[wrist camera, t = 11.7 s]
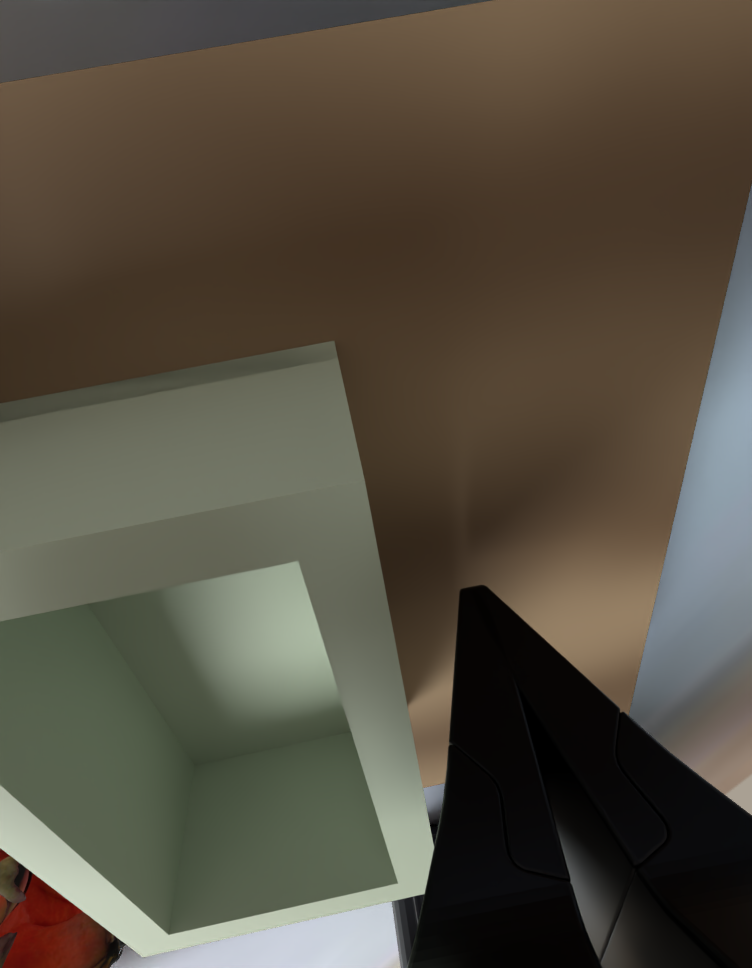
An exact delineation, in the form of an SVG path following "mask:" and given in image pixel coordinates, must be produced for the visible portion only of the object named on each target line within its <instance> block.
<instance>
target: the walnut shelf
mask: <svg viewBox="0 0 752 968" xmlns="http://www.w3.org/2000/svg"><path fill="white" fill-rule="evenodd" d="M751 184H752V0H492V1H486V2H480V3H475V4H469V5H463V6H457V7H451V8H445V9H439V10H433V11H427V12H421V13H415V14H409V15H403V16H397V17H391V18H385V19H379V20H373V21H367V22H361V23H355V24H349V25H343V26H337V27H331V28H325V29H320V30H314V31H308V32H302V33H296V34H290V35H284V36H278V37H272V38H266V39H260V40H254V41H248V42H242V43H236V44H230V45H224V46H218V47H212V48H206V49H200V50H194V51H188V52H182V53H176V54H171V55H165V56H159V57H153V58H147V59H141V60H135V61H129V62H123V63H117V64H111V65H105V66H99V67H93V68H87V69H81V70H75V71H69V72H63V73H57V74H51V75H45V76H39V77H33V78H27V79H21V80H16V81H10V82H4V83H0V403H6V402H11V401H16V400H22V399H27V398H32V397H37V396H43V395H48V394H53V393H59V392H64V391H69V390H75V389H80V388H85V387H91V386H96V385H101V384H106V383H112V382H117V381H122V380H128V379H133V378H138V377H144V376H149V375H154V374H160V373H165V372H170V371H175V370H181V369H186V368H191V367H197V366H202V365H207V364H213V363H218V362H223V361H229V360H234V359H239V358H244V357H250V356H255V355H260V354H266V353H271V352H276V351H282V350H287V349H292V348H298V347H303V346H308V345H313V344H319V343H324V342H329V341H334V342H335V347H336V352H337V356H338V361H339V365H340V370H341V374H342V379H343V384H344V388H345V393H346V397H347V402H348V406H349V411H350V415H351V420H352V425H353V429H354V434H355V438H356V443H357V447H358V452H359V457H360V461H361V466H362V470H363V475H364V479H365V485H366V490H367V495H368V501H369V506H370V511H371V516H372V522H373V527H374V532H375V538H376V543H377V548H378V553H379V559H380V564H381V569H382V575H383V580H384V585H385V590H386V596H387V601H388V606H389V612H390V617H391V622H392V627H393V633H394V638H395V643H396V649H397V654H398V659H399V665H400V670H401V675H402V680H403V686H404V691H405V696H406V702H407V707H408V712H409V717H410V723H411V728H412V733H413V739H414V744H415V749H416V754H417V760H418V765H419V770H420V776H421V781H422V786H423V788H425V787H430V786H434V785H439V784H443V783H445V778H446V769H447V756H448V746H449V731H450V717H451V703H452V689H453V675H454V661H455V647H456V633H457V619H458V605H459V592H460V590H461V589H462V588H466V587H472V586H477V585H485V586H487V587H488V588H489V589H490V590H491V591H492V592H494V593H495V594H496V595H497V596H498V597H499V598H500V599H501V600H502V601H503V602H504V603H506V604H507V605H508V606H509V607H510V608H511V609H512V610H513V611H514V612H515V613H517V614H518V615H519V616H520V617H521V618H522V619H523V620H524V621H525V622H526V623H527V624H529V625H530V626H531V627H532V628H533V629H534V630H535V631H536V632H537V633H538V634H540V635H541V636H542V637H543V638H544V639H545V640H546V641H547V642H548V643H549V644H550V645H552V646H553V647H554V648H555V649H556V650H557V651H558V652H559V653H560V654H561V655H563V656H564V657H565V658H566V659H567V660H568V661H569V662H570V663H571V664H572V665H573V666H575V667H576V668H577V669H578V670H579V671H580V672H581V673H582V674H583V675H584V676H586V677H587V678H588V679H589V680H590V681H591V682H592V683H593V684H594V685H595V686H596V687H598V688H599V689H600V690H601V691H602V692H603V693H604V694H605V695H606V696H607V697H609V698H610V699H611V700H612V701H613V702H614V703H615V704H616V705H617V706H618V707H619V708H620V713H621V712H625V713H626V714H627V715H629V711H630V707H631V702H632V698H633V694H634V689H635V685H636V681H637V676H638V672H639V668H640V663H641V659H642V655H643V651H644V646H645V642H646V638H647V633H648V629H649V625H650V620H651V616H652V612H653V607H654V603H655V599H656V594H657V590H658V586H659V581H660V577H661V573H662V568H663V564H664V560H665V555H666V551H667V547H668V542H669V538H670V534H671V530H672V525H673V521H674V517H675V512H676V508H677V504H678V499H679V495H680V491H681V486H682V482H683V478H684V473H685V469H686V465H687V460H688V456H689V452H690V447H691V443H692V439H693V434H694V430H695V426H696V421H697V417H698V413H699V408H700V404H701V400H702V396H703V391H704V387H705V383H706V378H707V374H708V370H709V365H710V361H711V357H712V352H713V348H714V344H715V339H716V335H717V331H718V326H719V322H720V318H721V313H722V309H723V305H724V300H725V296H726V292H727V287H728V283H729V279H730V274H731V270H732V266H733V262H734V257H735V253H736V249H737V244H738V240H739V236H740V231H741V227H742V223H743V218H744V214H745V210H746V205H747V201H748V197H749V192H750V188H751Z"/></svg>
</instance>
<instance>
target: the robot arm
mask: <svg viewBox="0 0 752 968" xmlns="http://www.w3.org/2000/svg"><path fill="white" fill-rule="evenodd" d="M430 829H431V834H432V839H433V844H434V851H433V855H432V860H431V865H430V870H429V874H428V879H427V884H426V889H425V894H422V895H417V896H413V897H409V898H404V899H400V900H395V901H391V902H392V907H393V914H394V921H395V929H396V936H397V943H398V951H399V958H400V965H401V968H752V815H751V814H749V813H748V812H747V811H745V810H744V809H743V808H741V807H740V806H739V805H737V804H736V803H735V802H733V801H732V800H731V799H729V798H728V797H727V796H726V795H724V794H723V793H722V792H720V791H719V790H718V789H716V788H715V787H714V786H712V785H711V784H710V783H708V782H707V781H706V780H705V779H703V778H702V777H701V776H699V775H698V774H697V773H696V772H694V771H693V770H692V769H691V768H689V767H688V766H687V765H685V764H684V763H683V762H682V761H680V760H679V759H678V758H677V757H675V756H674V755H673V754H672V753H670V752H669V751H668V750H667V749H666V748H664V747H663V746H662V745H661V744H660V743H659V742H658V741H656V740H655V739H654V738H653V737H652V736H651V735H649V734H648V733H647V732H646V731H645V730H644V729H643V728H641V727H640V726H639V725H638V724H637V723H636V722H635V721H634V720H633V719H632V718H631V717H630V716H628V715H627V714H626V713H625V712H621V713H620V708H619V707H618V706H617V705H616V704H615V703H614V702H613V701H612V700H611V699H610V698H609V697H607V696H606V695H605V694H604V693H603V692H602V691H601V690H600V689H599V688H598V687H596V686H595V685H594V684H593V683H592V682H591V681H590V680H589V679H588V678H587V677H586V676H584V675H583V674H582V673H581V672H580V671H579V670H578V669H577V668H576V667H575V666H573V665H572V664H571V663H570V662H569V661H568V660H567V659H566V658H565V657H564V656H563V655H561V654H560V653H559V652H558V651H557V650H556V649H555V648H554V647H553V646H552V645H550V644H549V643H548V642H547V641H546V640H545V639H544V638H543V637H542V636H541V635H540V634H538V633H537V632H536V631H535V630H534V629H533V628H532V627H531V626H530V625H529V624H527V623H526V622H525V621H524V620H523V619H522V618H521V617H520V616H519V615H518V614H517V613H515V612H514V611H513V610H512V609H511V608H510V607H509V606H508V605H507V604H506V603H504V602H503V601H502V600H501V599H500V598H499V597H498V596H497V595H496V594H495V593H494V592H492V591H491V590H490V589H489V588H488V587H487V586H485V585H477V586H472V587H466V588H462V589H461V590H460V592H459V605H458V619H457V633H456V647H455V661H454V675H453V689H452V703H451V717H450V731H449V746H448V756H447V769H446V778H445V788H444V797H443V803H442V809H441V814H440V820H439V826H437V827H432V828H430Z"/></svg>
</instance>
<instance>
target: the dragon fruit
mask: <svg viewBox="0 0 752 968" xmlns="http://www.w3.org/2000/svg"><path fill="white" fill-rule="evenodd" d="M125 945H126V944H125V943H124V942H122V941H121V940H120V939H118V938H117V937H116V936H114V935H113V934H112V933H111V932H109V931H108V930H107V929H105V928H104V927H103V926H101V925H100V924H99V923H98V922H96V921H95V920H94V919H92V918H91V917H90V916H88V915H87V914H86V913H84V912H83V911H82V910H81V909H79V908H78V907H77V906H75V905H74V904H73V903H71V902H70V901H69V900H67V899H66V898H65V897H64V896H62V895H61V894H60V893H58V892H57V891H56V890H54V889H53V888H52V887H50V886H49V885H48V884H47V883H45V882H44V881H43V880H41V879H40V878H39V877H37V876H36V875H35V874H34V873H32V872H31V871H30V870H28V869H27V868H26V867H24V866H23V865H22V864H20V863H19V862H18V861H17V860H15V859H14V858H13V857H11V856H10V855H9V854H7V853H6V852H5V851H3V850H2V849H1V848H0V968H110V966H111V965H112V964H113V963H114V962H116V961H117V960H118V959H119V958H120V956H121V954H122V950H121V952H120V948H122V947H123V946H125ZM127 946H128V945H127ZM122 949H123V948H122ZM119 952H120V954H119ZM118 955H119V956H118Z"/></svg>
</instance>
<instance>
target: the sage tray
mask: <svg viewBox="0 0 752 968" xmlns="http://www.w3.org/2000/svg"><path fill="white" fill-rule="evenodd" d="M0 848H1V849H2V850H3V851H5V852H6V853H7V854H9V855H10V856H11V857H13V858H14V859H15V860H17V861H18V862H19V863H20V864H22V865H23V866H24V867H26V868H27V869H28V870H30V871H31V872H32V873H34V874H35V875H36V876H37V877H39V878H40V879H41V880H43V881H44V882H45V883H47V884H48V885H49V886H50V887H52V888H53V889H54V890H56V891H57V892H58V893H60V894H61V895H62V896H64V897H65V898H66V899H67V900H69V901H70V902H71V903H73V904H74V905H75V906H77V907H78V908H79V909H81V910H82V911H83V912H84V913H86V914H87V915H88V916H90V917H91V918H92V919H94V920H95V921H96V922H98V923H99V924H100V925H101V926H103V927H104V928H105V929H107V930H108V931H109V932H111V933H112V934H113V935H114V936H116V937H117V938H118V939H120V940H121V941H122V942H124V943H125V944H126V945H128V946H129V947H130V948H131V949H133V950H134V951H135V952H137V953H138V954H139V955H141V956H142V957H147V956H152V955H156V954H161V953H165V952H169V951H174V950H178V949H183V948H187V947H192V946H196V945H200V944H205V943H209V942H214V941H218V940H223V939H227V938H231V937H236V936H240V935H245V934H249V933H254V932H258V931H262V930H267V929H271V928H276V927H280V926H285V925H289V924H293V923H298V922H302V921H307V920H311V919H316V918H320V917H324V916H329V915H333V914H338V913H342V912H347V911H351V910H355V909H360V908H364V907H369V906H373V905H378V904H382V903H386V902H391V901H395V900H400V899H404V898H409V897H413V896H417V895H422V894H425V889H426V884H427V879H428V874H429V870H430V865H431V860H432V855H433V851H434V844H433V839H432V834H431V829H430V823H429V818H428V813H427V807H426V802H425V797H424V791H423V786H422V781H421V776H420V770H419V765H418V760H417V754H416V749H415V744H414V739H413V733H412V728H411V723H410V717H409V712H408V707H407V702H406V696H405V691H404V686H403V680H402V675H401V670H400V665H399V659H398V654H397V649H396V643H395V638H394V633H393V627H392V622H391V617H390V612H389V606H388V601H387V596H386V590H385V585H384V580H383V575H382V569H381V564H380V559H379V553H378V548H377V543H376V538H375V532H374V527H373V522H372V516H371V511H370V506H369V501H368V495H367V490H366V485H365V479H364V475H363V470H362V466H361V461H360V457H359V452H358V447H357V443H356V438H355V434H354V429H353V425H352V420H351V415H350V411H349V406H348V402H347V397H346V393H345V388H344V384H343V379H342V374H341V370H340V365H339V361H338V356H337V352H336V347H335V342H334V341H329V342H324V343H319V344H313V345H308V346H303V347H298V348H292V349H287V350H282V351H276V352H271V353H266V354H260V355H255V356H250V357H244V358H239V359H234V360H229V361H223V362H218V363H213V364H207V365H202V366H197V367H191V368H186V369H181V370H175V371H170V372H165V373H160V374H154V375H149V376H144V377H138V378H133V379H128V380H122V381H117V382H112V383H106V384H101V385H96V386H91V387H85V388H80V389H75V390H69V391H64V392H59V393H53V394H48V395H43V396H37V397H32V398H27V399H22V400H16V401H11V402H6V403H0Z"/></svg>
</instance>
